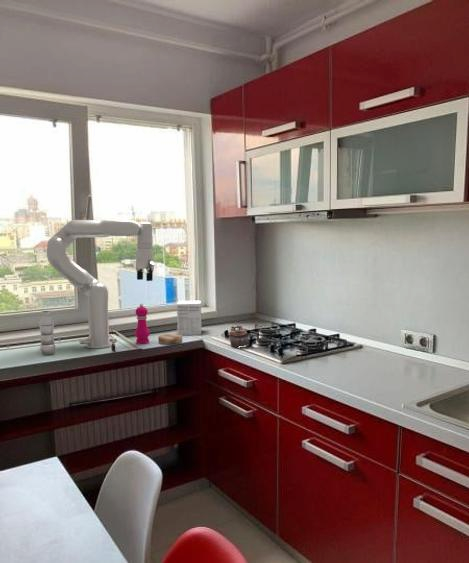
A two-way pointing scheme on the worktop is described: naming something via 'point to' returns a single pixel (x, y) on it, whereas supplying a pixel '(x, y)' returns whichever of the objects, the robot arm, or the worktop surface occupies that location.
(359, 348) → the worktop surface
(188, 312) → the supplement box
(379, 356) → the worktop surface
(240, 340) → the cupcake
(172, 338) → the walnut pedestal
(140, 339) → the pepper mill
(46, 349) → the plastic bottle
